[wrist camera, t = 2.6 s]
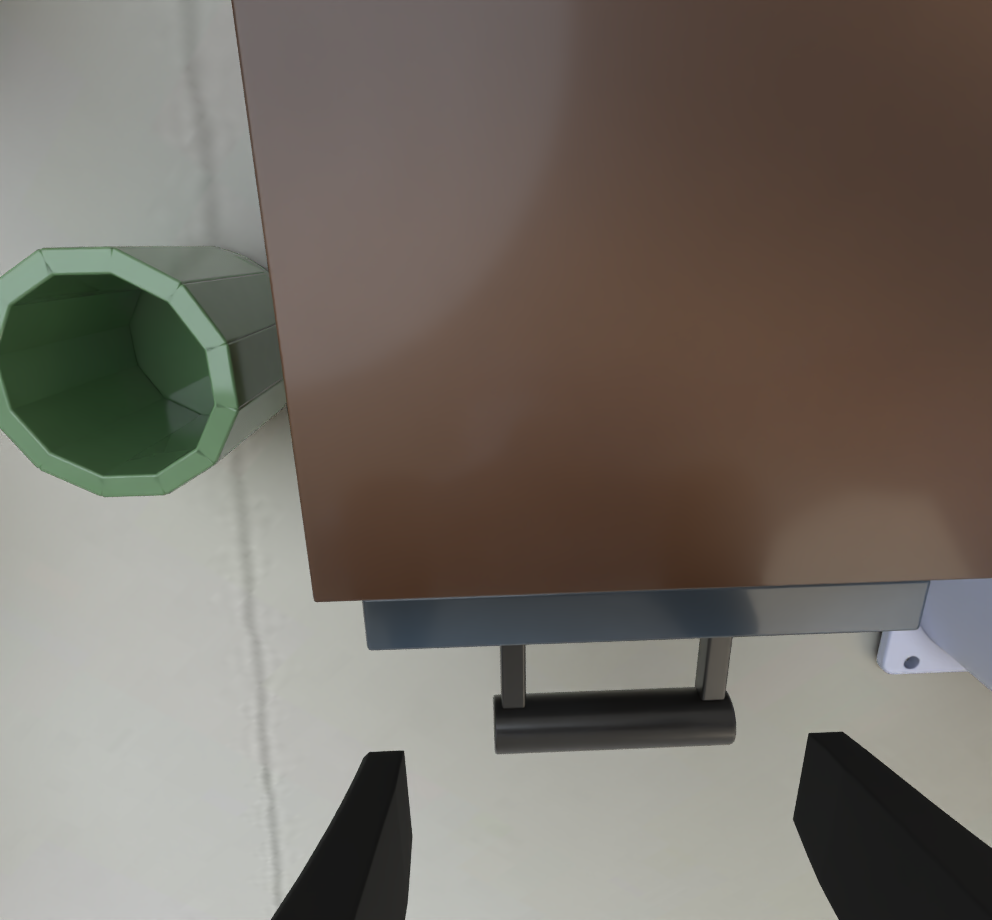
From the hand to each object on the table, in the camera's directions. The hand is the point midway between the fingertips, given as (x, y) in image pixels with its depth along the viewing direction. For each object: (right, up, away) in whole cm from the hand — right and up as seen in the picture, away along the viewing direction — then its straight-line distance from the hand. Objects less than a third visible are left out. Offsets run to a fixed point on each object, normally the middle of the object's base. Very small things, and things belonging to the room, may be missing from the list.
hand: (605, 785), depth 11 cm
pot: (-10, +9, +6) cm, 15 cm away
